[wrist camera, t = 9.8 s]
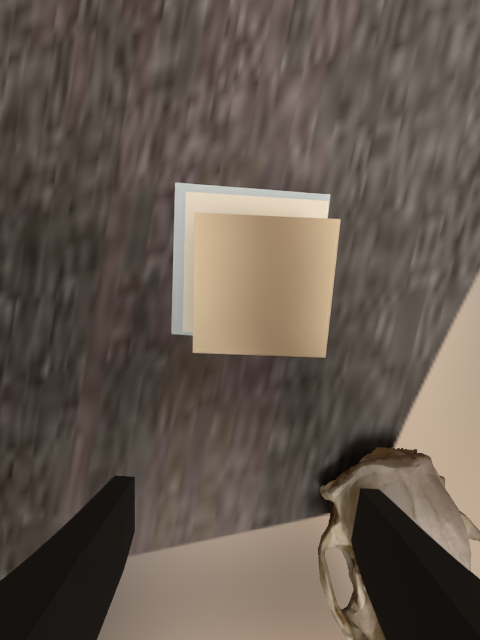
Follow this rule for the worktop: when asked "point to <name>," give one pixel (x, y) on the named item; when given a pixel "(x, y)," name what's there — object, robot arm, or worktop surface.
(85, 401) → the worktop surface
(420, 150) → the worktop surface
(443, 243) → the worktop surface
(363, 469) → the skull
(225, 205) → the tower top
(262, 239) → the maple block
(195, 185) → the tower base
